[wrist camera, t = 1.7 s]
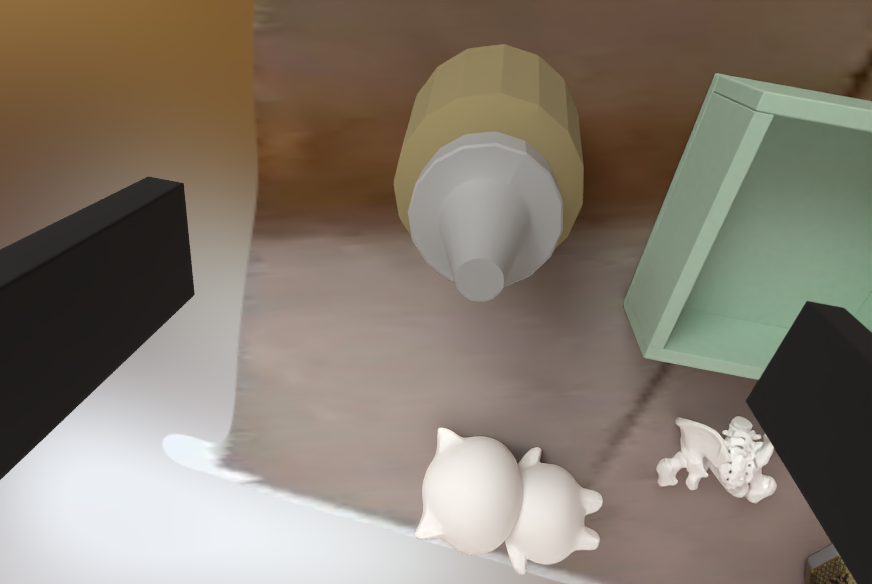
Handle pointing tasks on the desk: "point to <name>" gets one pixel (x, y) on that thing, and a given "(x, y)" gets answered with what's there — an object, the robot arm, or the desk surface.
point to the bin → (757, 227)
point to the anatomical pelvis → (721, 458)
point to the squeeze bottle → (490, 168)
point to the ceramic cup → (827, 568)
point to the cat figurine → (504, 502)
